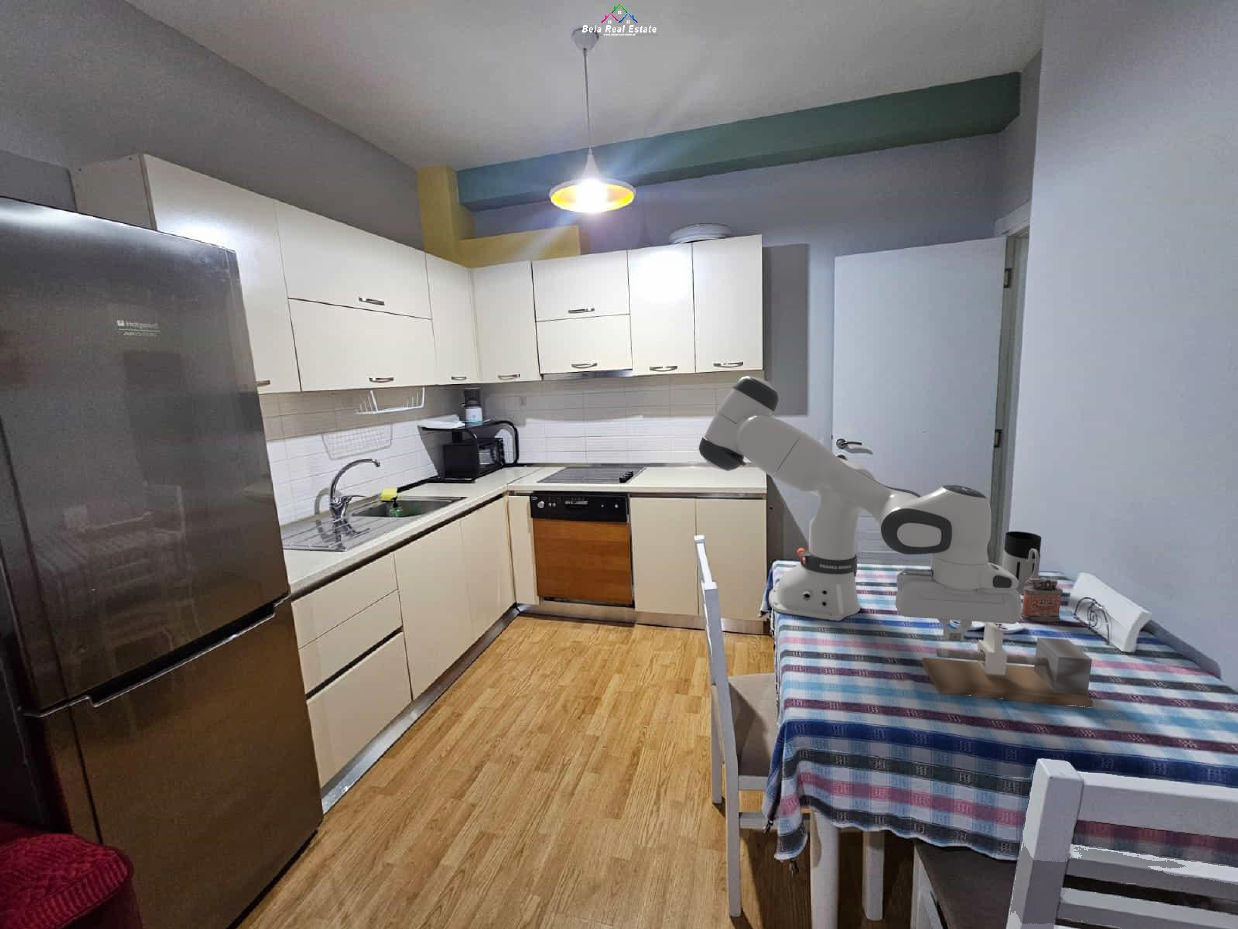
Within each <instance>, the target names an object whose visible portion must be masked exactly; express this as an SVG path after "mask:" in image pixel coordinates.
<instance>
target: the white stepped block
mask: <svg viewBox="0 0 1238 929" xmlns="http://www.w3.org/2000/svg"><path fill="white" fill-rule="evenodd" d="M1003 640H1004V632H1003V630H1001V628H999V626H997V624H996V623H991V622H984V631H983V640H981V639H978V642H977V651H976V652H984V653H985V654H986V657H985V661H978V660H976V662H978V663H979V664H980V666H981V667H982V668H983V669H984V671H985V672H986V673H987V674H998V675H1005V671H1006V664H1007V663H1006V660H1007V654H1008V653H1007V652H1006V651H1005V649H1004V648H1003V642H1004V641H1003Z"/></svg>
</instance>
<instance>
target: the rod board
mask: <svg viewBox="0 0 1238 929" xmlns="http://www.w3.org/2000/svg"><path fill="white" fill-rule="evenodd" d="M1035 646H1036V647H1035V655H1023V654H1011V653H1007V660H1006V671H1005V675H998V674H987V673H986V672H985V671H984V669H983V668H982V667H981V666H980V664H979V663H978V662H977V660H978V661H985V657H986V654H985V653H984V652H977V651H974V650H973V651H972V650H961V649H947V648H936V651H935V652H936V657H938V658H934V657H933V658H932V657H922V658H921V659H922V662H921V665H922V666H923V669H924V670H925V672H926V674H927V675H928V677H929V678H930V680H931V682H932V683H933V684H934V687H935V688H936V690H937V692H938V691H939V692H938V693H939V694H941V693H942V695H951V694H953V696H961V695H971V696H970V697H972V696H980V697H979V698H982V697H989V698H988V699H992V698H1003V699H1010V700H1009V701H1013V700H1018V701H1017V702H1023V701H1026V702H1025V703H1033V702H1039V703H1038V704H1043V703H1045V705H1046V704H1047V705H1053V706H1054V705H1055V706H1064V705H1074V706H1075V705H1076V706H1083V707H1082V708H1084V706H1085V707H1092V708H1093V702H1094V700H1093V699H1092V698H1091V697H1090V696H1089V695H1088V694H1089V685H1090V679H1091V670H1092V663H1093V658H1091V657H1089V656H1088V655H1087V653H1085V652H1084V651H1082V649H1081V648H1079V647H1078V646H1077V645H1076V644H1075V643H1073V642H1072V641H1070V640H1069V639H1068V638H1067V639H1066V638H1050V637H1036V645H1035ZM954 694H955V695H954ZM981 696H982V697H981ZM1074 706H1073V707H1074Z"/></svg>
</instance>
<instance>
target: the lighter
mask: <svg viewBox="0 0 1238 929" xmlns="http://www.w3.org/2000/svg"><path fill="white" fill-rule="evenodd" d="M1058 582H1059V581H1058V580H1057V579H1054V578H1047V577H1044V576H1042V577H1040V578H1039V577H1038V578H1036V579H1028V584H1029V585H1033V586H1024V587H1023V591H1024V595H1022V597H1023V598H1022V605H1021V618H1020V619H1023V620H1025V621H1033V622H1035V621H1036V622H1055V621H1056V622H1057V621H1059V620H1060V619H1061V618H1060V617H1061V616H1060V610H1061V609H1060V608H1061V598H1062V594H1063V589H1062V588H1061V587H1059V586H1058Z"/></svg>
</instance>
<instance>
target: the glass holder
mask: <svg viewBox="0 0 1238 929" xmlns="http://www.w3.org/2000/svg"><path fill="white" fill-rule="evenodd" d="M1041 545H1042V536H1040V535H1038V534H1035V533H1032V532H1029V531H1028V532H1027V531H1026V532H1025V531H1017V530H1016V531H1013V530H1012V531H1011V530H1010V531H1007V532H1005V539H1004V548H1003V550H1002V559H1001V560H1002V561H1001V562H1002V563H1001V567H1003V568H1004V569H1006V570H1007V571H1009V572H1010V573H1011V574H1013V575H1014V576H1015V577H1016V578H1017V579H1018V581H1019V583H1018V587H1017V588H1016V590H1017V591H1018V592H1019V593H1020V594H1024V591H1023V587H1024V586H1033V585H1029V584H1028V579H1036V578H1038V579H1039V573H1040V564H1041Z"/></svg>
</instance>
